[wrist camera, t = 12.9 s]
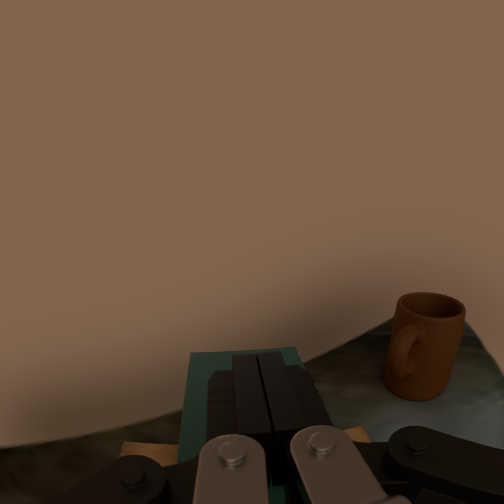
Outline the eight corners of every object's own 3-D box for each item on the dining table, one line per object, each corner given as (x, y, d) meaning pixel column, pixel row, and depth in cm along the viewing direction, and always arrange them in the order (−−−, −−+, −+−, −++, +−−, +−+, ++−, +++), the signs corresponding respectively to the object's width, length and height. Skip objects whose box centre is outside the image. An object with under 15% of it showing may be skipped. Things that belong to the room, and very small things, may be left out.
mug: (412, 439, 21) (442, 348, 19) (345, 408, 26) (358, 321, 24) (454, 376, 28) (473, 300, 26) (400, 358, 34) (412, 286, 32)
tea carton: (174, 461, 8) (189, 351, 16) (211, 561, 11) (209, 475, 18) (343, 446, 9) (295, 345, 16) (309, 553, 11) (287, 469, 18)
